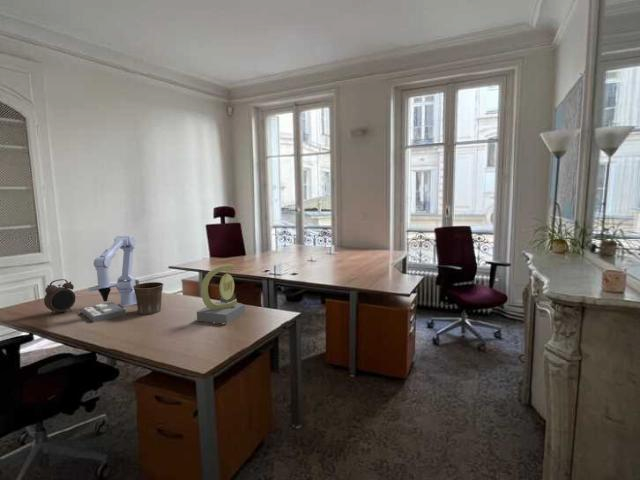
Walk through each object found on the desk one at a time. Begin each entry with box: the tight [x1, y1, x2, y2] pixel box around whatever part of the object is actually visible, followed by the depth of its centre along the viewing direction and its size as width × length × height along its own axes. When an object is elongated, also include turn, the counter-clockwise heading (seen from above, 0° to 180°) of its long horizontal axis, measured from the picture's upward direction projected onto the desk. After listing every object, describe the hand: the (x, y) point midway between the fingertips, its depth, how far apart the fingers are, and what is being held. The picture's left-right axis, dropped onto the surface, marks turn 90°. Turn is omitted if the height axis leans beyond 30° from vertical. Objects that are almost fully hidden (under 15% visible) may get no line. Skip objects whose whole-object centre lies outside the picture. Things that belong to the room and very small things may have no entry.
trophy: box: [196, 264, 246, 325], centre depth 192 cm, size 19×19×30 cm
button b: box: [99, 303, 108, 311], centre depth 201 cm, size 4×4×3 cm
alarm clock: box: [43, 278, 77, 316], centre depth 204 cm, size 14×7×20 cm, turn 151°
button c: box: [102, 309, 112, 313], centre depth 197 cm, size 4×4×3 cm
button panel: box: [81, 301, 127, 323], centre depth 201 cm, size 16×24×3 cm, turn 47°
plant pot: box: [133, 281, 164, 315], centre depth 205 cm, size 16×16×16 cm
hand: (105, 301), depth 198 cm, fingers closed
